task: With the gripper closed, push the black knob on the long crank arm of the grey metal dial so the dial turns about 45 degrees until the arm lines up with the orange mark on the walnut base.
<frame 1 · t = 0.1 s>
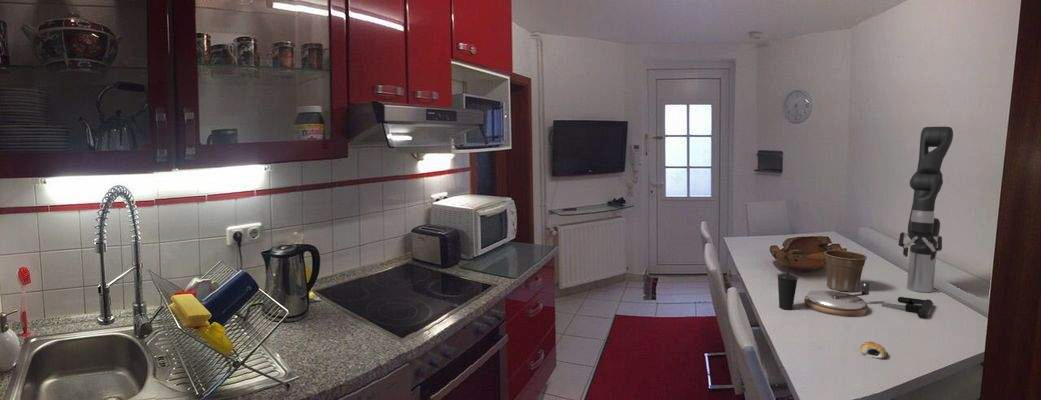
hand: (918, 258, 207), 17 cm above the table, tool pointing down, fingers open, 8 cm apart
dial base: (835, 306, 199), on the table
plant pot: (842, 288, 222), on the table
door handle: (907, 309, 196), on the table
pastry: (872, 354, 157), on the table
dial: (842, 292, 199), point 6 cm above the table, hinge at 0.0°
drinking cup: (785, 308, 199), on the table
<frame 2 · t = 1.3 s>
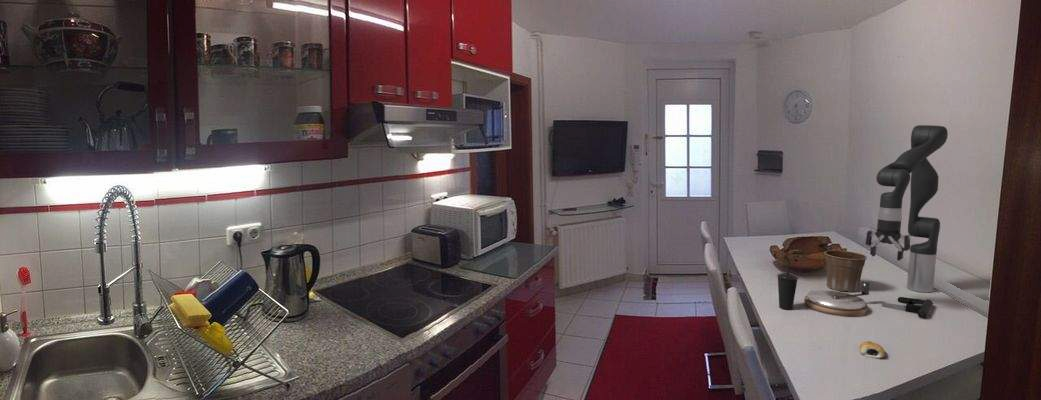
hand: (886, 258, 195), 21 cm above the table, tool pointing down, fingers open, 8 cm apart
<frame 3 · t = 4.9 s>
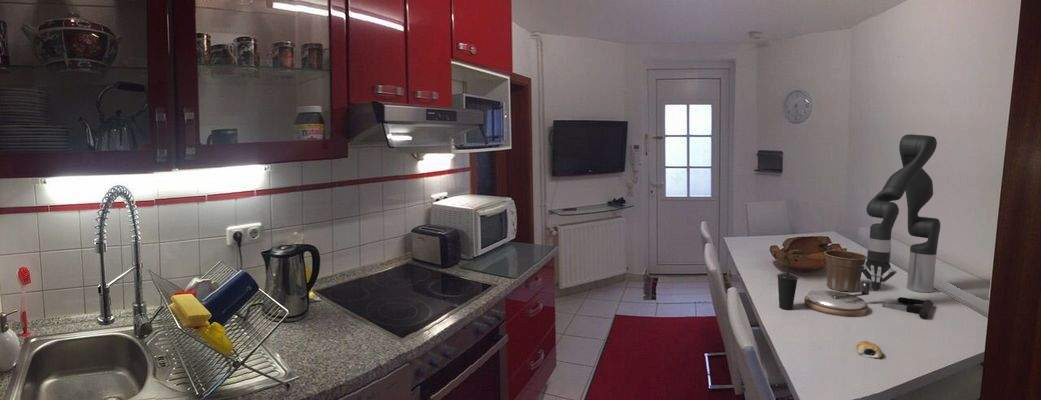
hand: (875, 290, 199), 7 cm above the table, tool pointing down, fingers closed
dial: (842, 292, 199), point 6 cm above the table, hinge at 0.0°, touching gripper
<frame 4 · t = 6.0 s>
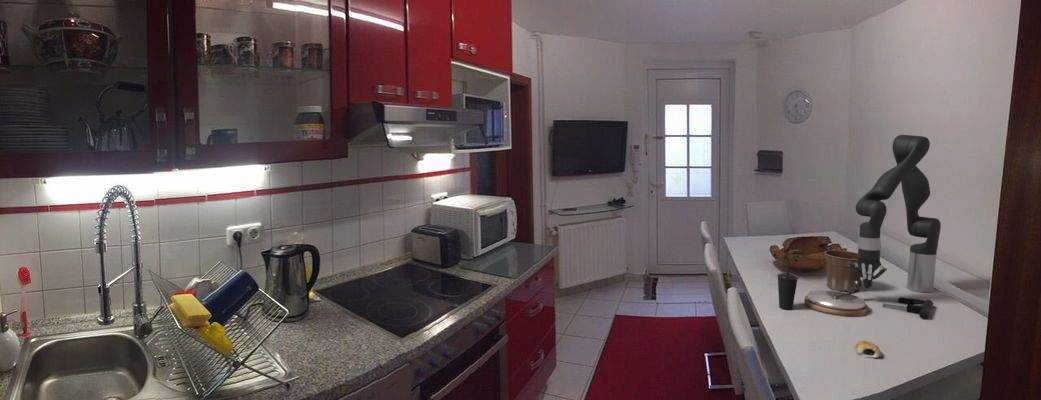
hand: (867, 287, 202), 7 cm above the table, tool pointing down, fingers closed
dial: (840, 292, 199), point 6 cm above the table, hinge at 13.4°, touching gripper
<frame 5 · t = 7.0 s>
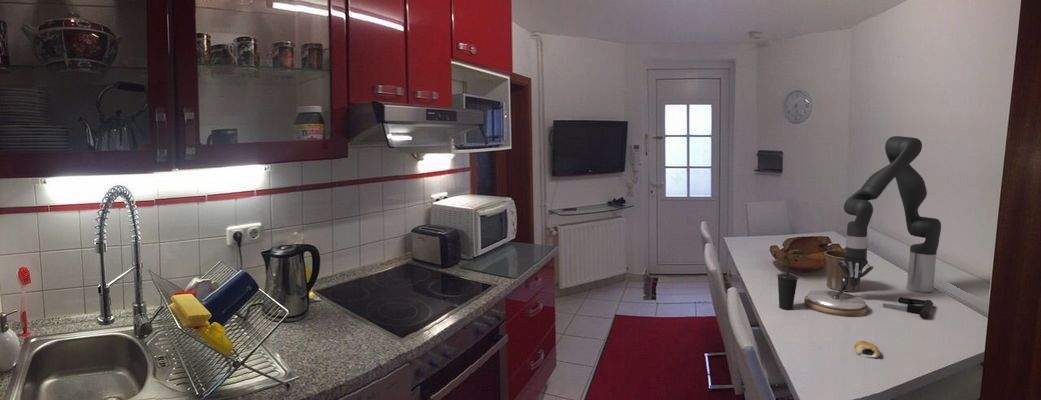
hand: (854, 285, 206), 6 cm above the table, tool pointing down, fingers closed
dial: (837, 291, 200), point 6 cm above the table, hinge at 31.5°, touching gripper
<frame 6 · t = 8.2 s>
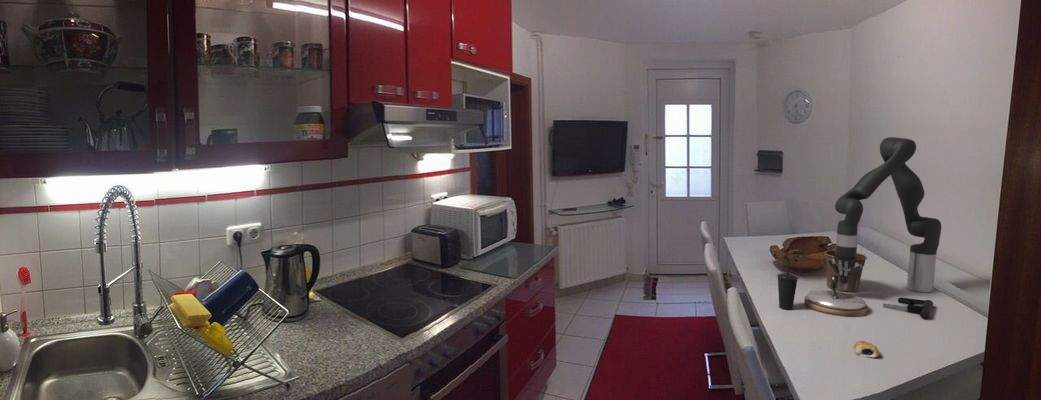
hand: (843, 283, 208), 6 cm above the table, tool pointing down, fingers closed
dial: (835, 291, 201), point 6 cm above the table, hinge at 46.2°, touching gripper
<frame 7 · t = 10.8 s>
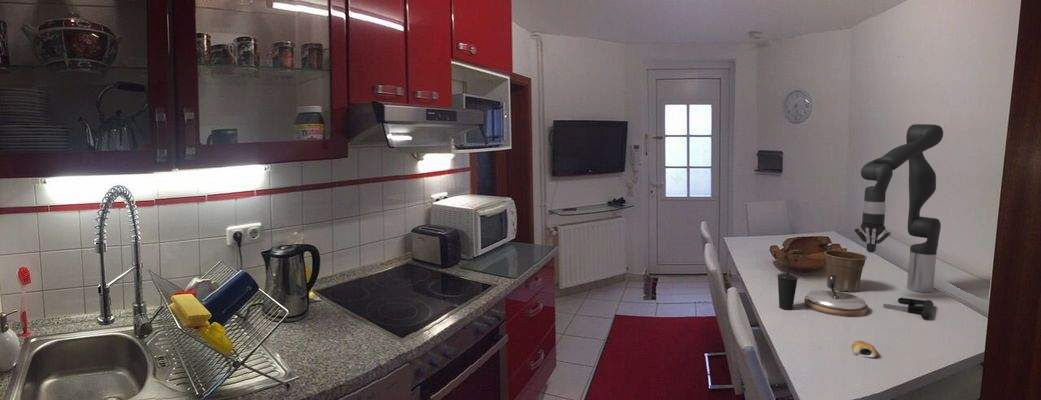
hand: (871, 252, 202), 21 cm above the table, tool pointing down, fingers closed
dial: (835, 291, 201), point 6 cm above the table, hinge at 48.8°
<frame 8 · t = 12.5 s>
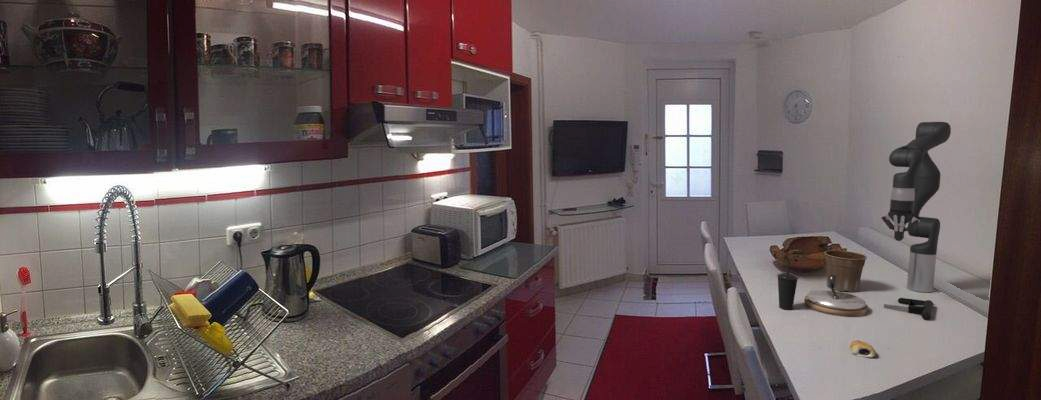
hand: (898, 240, 198), 27 cm above the table, tool pointing down, fingers closed
at the end: dial at +49° (first picture: +0°) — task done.
